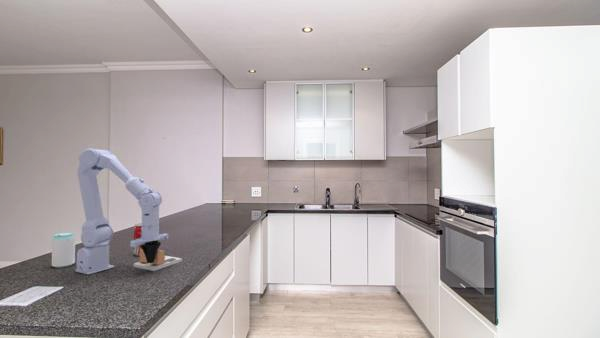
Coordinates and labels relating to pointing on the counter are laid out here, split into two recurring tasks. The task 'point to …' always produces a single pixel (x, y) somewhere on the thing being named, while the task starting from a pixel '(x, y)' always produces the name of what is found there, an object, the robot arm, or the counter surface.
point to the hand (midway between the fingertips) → (150, 262)
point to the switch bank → (155, 267)
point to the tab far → (142, 256)
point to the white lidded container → (63, 250)
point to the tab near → (159, 257)
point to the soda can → (137, 237)
